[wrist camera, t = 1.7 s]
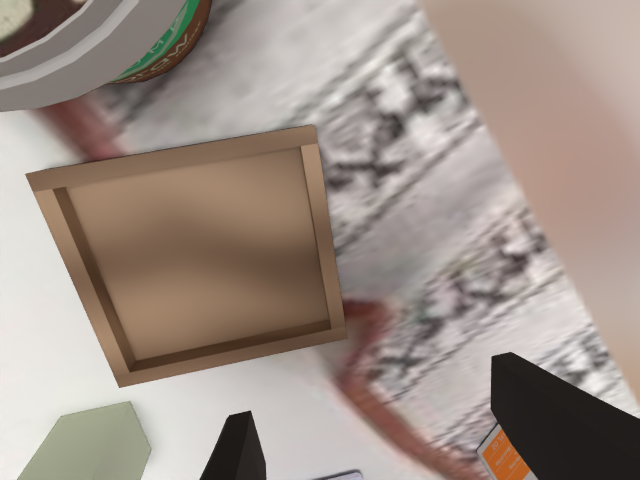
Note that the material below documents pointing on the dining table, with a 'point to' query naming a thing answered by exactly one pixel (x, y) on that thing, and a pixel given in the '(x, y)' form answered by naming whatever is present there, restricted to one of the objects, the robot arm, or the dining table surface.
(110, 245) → the walnut tray
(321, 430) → the dining table surface
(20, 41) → the food container
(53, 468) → the sage block
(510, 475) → the skincare box
